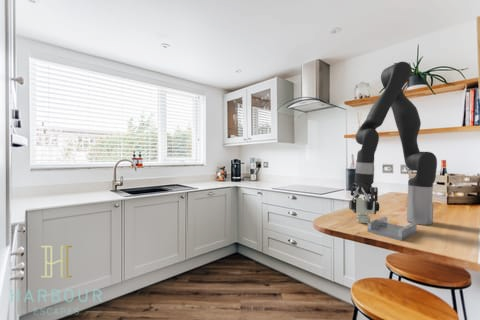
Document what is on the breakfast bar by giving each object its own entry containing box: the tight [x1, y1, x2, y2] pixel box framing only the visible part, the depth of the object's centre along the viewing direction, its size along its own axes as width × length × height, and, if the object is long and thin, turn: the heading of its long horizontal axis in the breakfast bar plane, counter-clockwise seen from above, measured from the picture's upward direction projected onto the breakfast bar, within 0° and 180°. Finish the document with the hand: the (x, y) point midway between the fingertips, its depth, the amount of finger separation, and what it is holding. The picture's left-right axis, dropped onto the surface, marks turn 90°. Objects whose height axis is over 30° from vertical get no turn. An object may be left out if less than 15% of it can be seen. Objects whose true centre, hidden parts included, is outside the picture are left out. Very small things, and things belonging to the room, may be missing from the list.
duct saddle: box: [367, 216, 418, 241], centre depth 96 cm, size 16×12×4 cm
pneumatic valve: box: [348, 196, 380, 225], centre depth 109 cm, size 6×12×12 cm, turn 79°
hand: (362, 207), depth 109 cm, fingers open, 8 cm apart
